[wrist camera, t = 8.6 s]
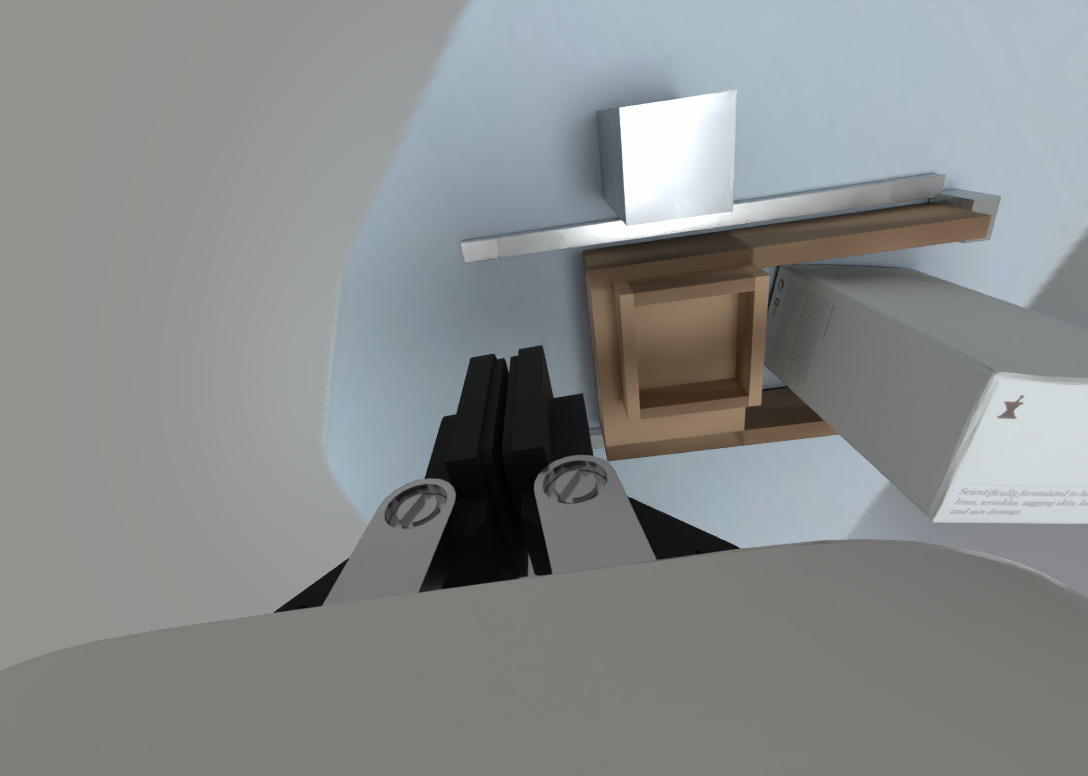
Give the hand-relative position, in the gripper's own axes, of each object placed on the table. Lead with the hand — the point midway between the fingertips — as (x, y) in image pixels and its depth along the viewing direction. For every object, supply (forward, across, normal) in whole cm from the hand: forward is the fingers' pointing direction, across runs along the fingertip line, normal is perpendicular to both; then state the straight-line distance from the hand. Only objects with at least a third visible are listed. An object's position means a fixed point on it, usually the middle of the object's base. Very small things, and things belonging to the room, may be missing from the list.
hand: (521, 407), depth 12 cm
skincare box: (+18, -16, +8) cm, 25 cm away
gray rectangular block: (+18, -6, -3) cm, 19 cm away
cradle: (+17, -12, +7) cm, 22 cm away
